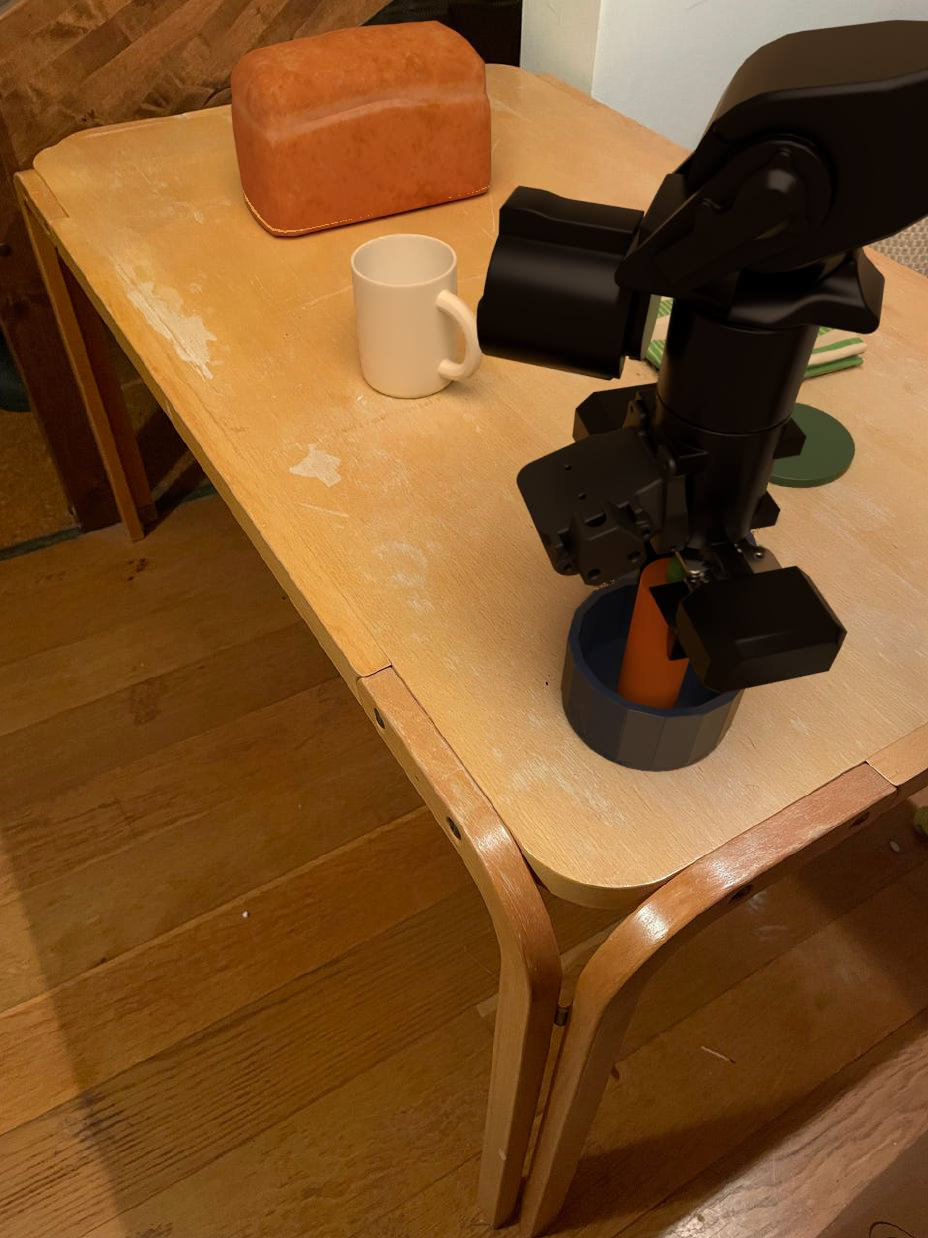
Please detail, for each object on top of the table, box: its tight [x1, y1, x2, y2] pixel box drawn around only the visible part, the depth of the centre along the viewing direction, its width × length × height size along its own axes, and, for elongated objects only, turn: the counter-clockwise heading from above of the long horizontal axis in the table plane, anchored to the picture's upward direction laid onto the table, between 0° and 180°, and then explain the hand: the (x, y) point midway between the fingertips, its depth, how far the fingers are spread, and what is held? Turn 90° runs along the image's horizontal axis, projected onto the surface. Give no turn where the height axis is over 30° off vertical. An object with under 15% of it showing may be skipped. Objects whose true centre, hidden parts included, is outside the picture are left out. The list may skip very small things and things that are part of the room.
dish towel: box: [645, 296, 868, 380], centre depth 81 cm, size 18×23×3 cm
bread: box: [229, 20, 492, 237], centre depth 93 cm, size 14×26×16 cm, turn 116°
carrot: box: [617, 555, 689, 710], centre depth 50 cm, size 4×4×12 cm
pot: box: [560, 578, 746, 773], centre depth 52 cm, size 10×10×6 cm
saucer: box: [768, 402, 856, 488], centre depth 70 cm, size 10×10×1 cm
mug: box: [349, 233, 484, 399], centre depth 72 cm, size 12×8×10 cm
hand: (663, 630), depth 49 cm, fingers closed on carrot, 3 cm apart
